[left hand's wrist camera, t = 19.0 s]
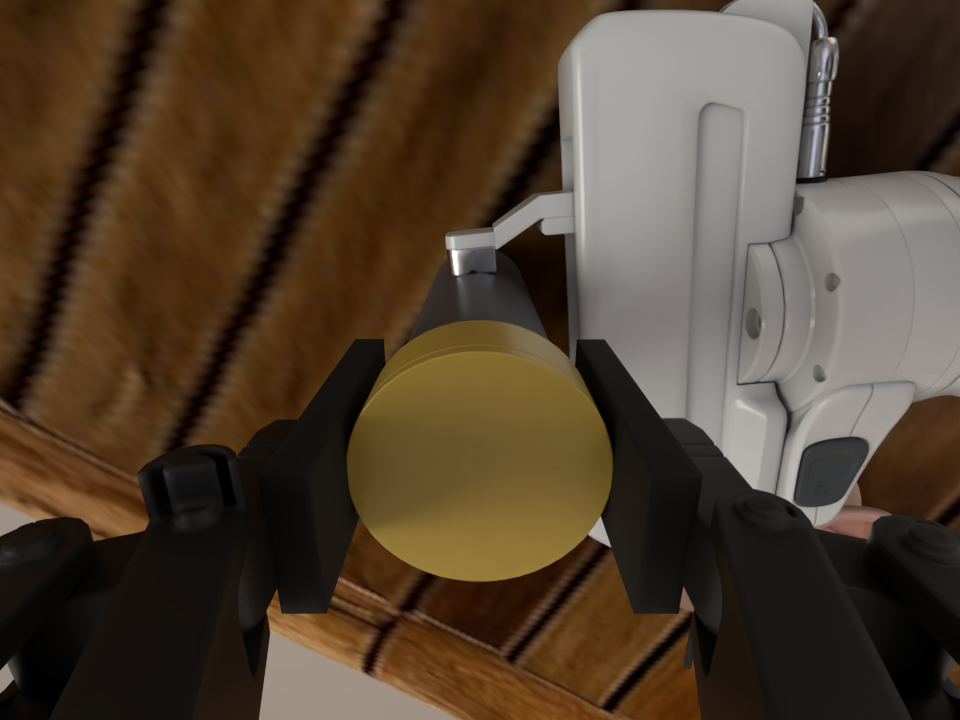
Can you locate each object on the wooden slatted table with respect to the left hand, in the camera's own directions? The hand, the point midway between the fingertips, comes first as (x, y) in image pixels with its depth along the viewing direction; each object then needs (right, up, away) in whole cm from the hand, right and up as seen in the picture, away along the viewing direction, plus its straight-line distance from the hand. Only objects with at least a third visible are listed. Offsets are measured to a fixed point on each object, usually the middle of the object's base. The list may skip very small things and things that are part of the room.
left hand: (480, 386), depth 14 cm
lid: (0, -1, -4) cm, 4 cm away
